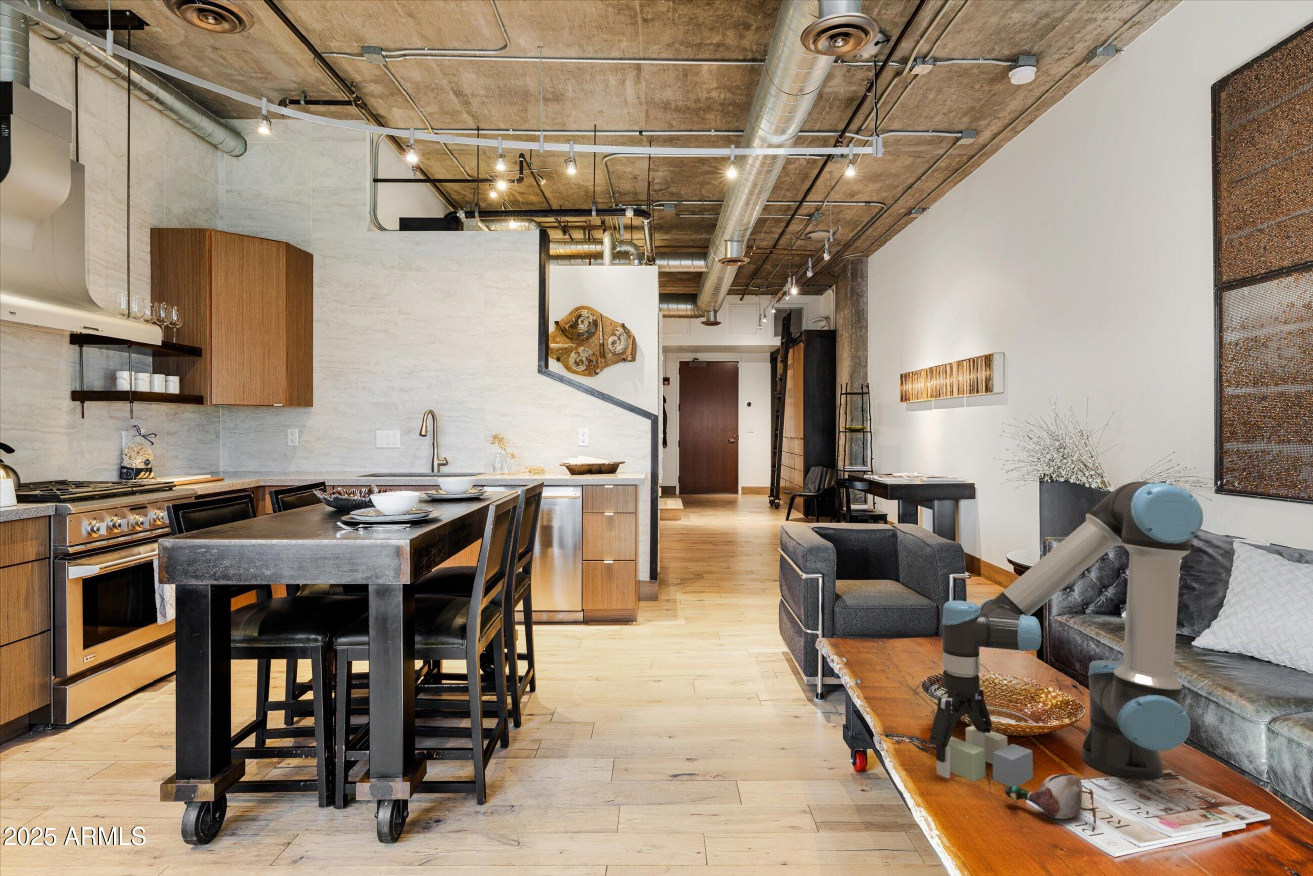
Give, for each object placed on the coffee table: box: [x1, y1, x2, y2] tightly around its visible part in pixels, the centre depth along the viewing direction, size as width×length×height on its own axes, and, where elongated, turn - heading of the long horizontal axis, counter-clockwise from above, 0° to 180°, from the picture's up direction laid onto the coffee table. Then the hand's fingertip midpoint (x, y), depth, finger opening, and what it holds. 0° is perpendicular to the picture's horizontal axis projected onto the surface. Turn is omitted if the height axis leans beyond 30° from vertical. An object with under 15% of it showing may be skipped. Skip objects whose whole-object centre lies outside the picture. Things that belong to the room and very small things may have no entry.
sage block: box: [943, 736, 987, 783], centre depth 149 cm, size 8×4×6 cm, turn 33°
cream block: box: [965, 724, 1008, 765], centre depth 156 cm, size 8×4×6 cm, turn 33°
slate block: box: [992, 743, 1034, 787], centre depth 146 cm, size 8×4×6 cm, turn 123°
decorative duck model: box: [1004, 773, 1097, 825], centre depth 133 cm, size 15×8×15 cm
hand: (961, 768), depth 149 cm, fingers open, 13 cm apart
